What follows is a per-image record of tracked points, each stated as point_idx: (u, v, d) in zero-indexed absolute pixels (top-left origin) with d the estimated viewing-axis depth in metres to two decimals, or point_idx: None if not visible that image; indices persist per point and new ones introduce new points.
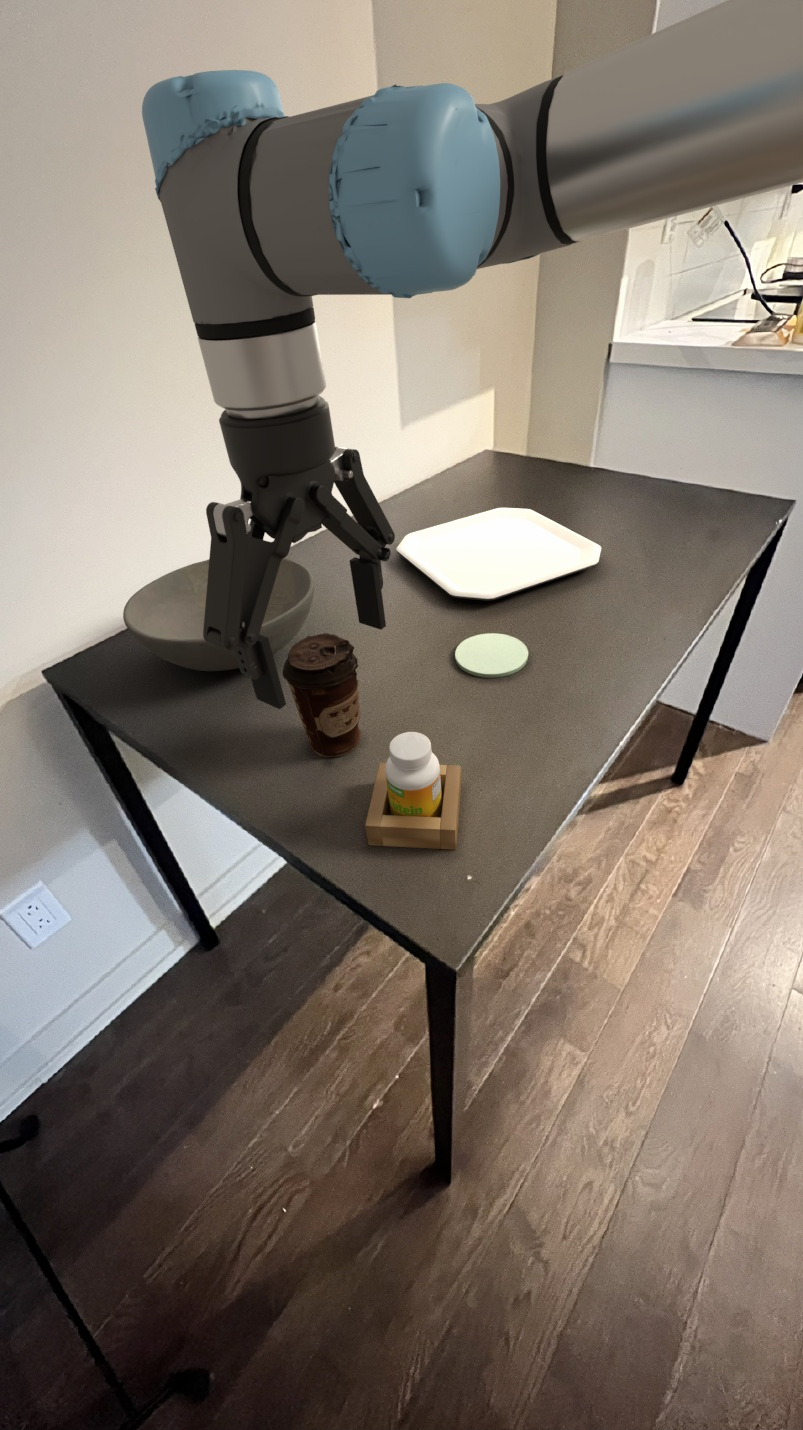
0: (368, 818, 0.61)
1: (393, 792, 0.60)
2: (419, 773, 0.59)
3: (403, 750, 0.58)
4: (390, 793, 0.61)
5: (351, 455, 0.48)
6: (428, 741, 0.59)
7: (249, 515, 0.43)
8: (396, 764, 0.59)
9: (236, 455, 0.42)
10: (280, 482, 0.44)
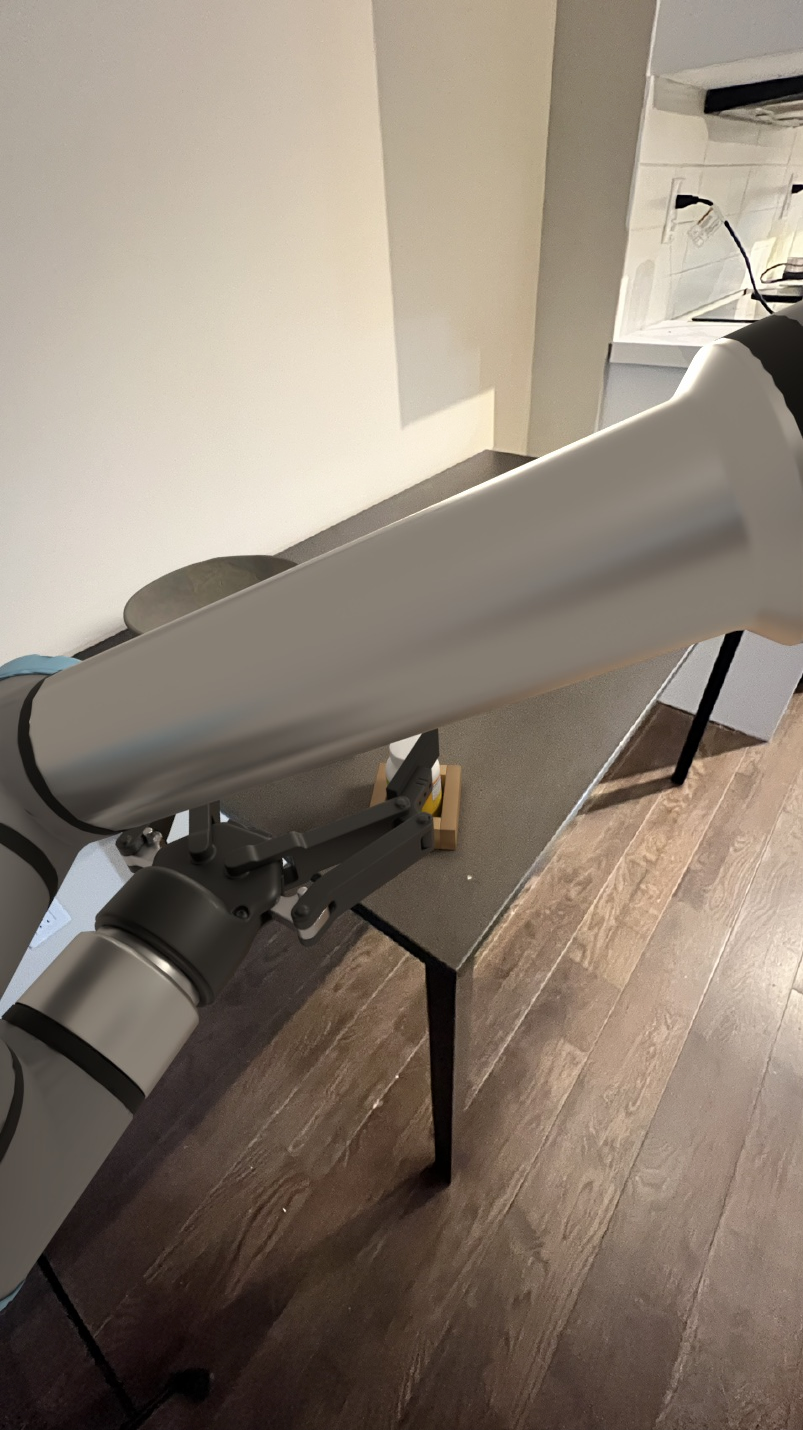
0: None
1: None
2: None
3: (403, 750, 0.58)
4: None
5: (126, 845, 0.37)
6: None
7: (285, 899, 0.34)
8: (396, 764, 0.59)
9: (236, 960, 0.32)
10: (225, 895, 0.33)
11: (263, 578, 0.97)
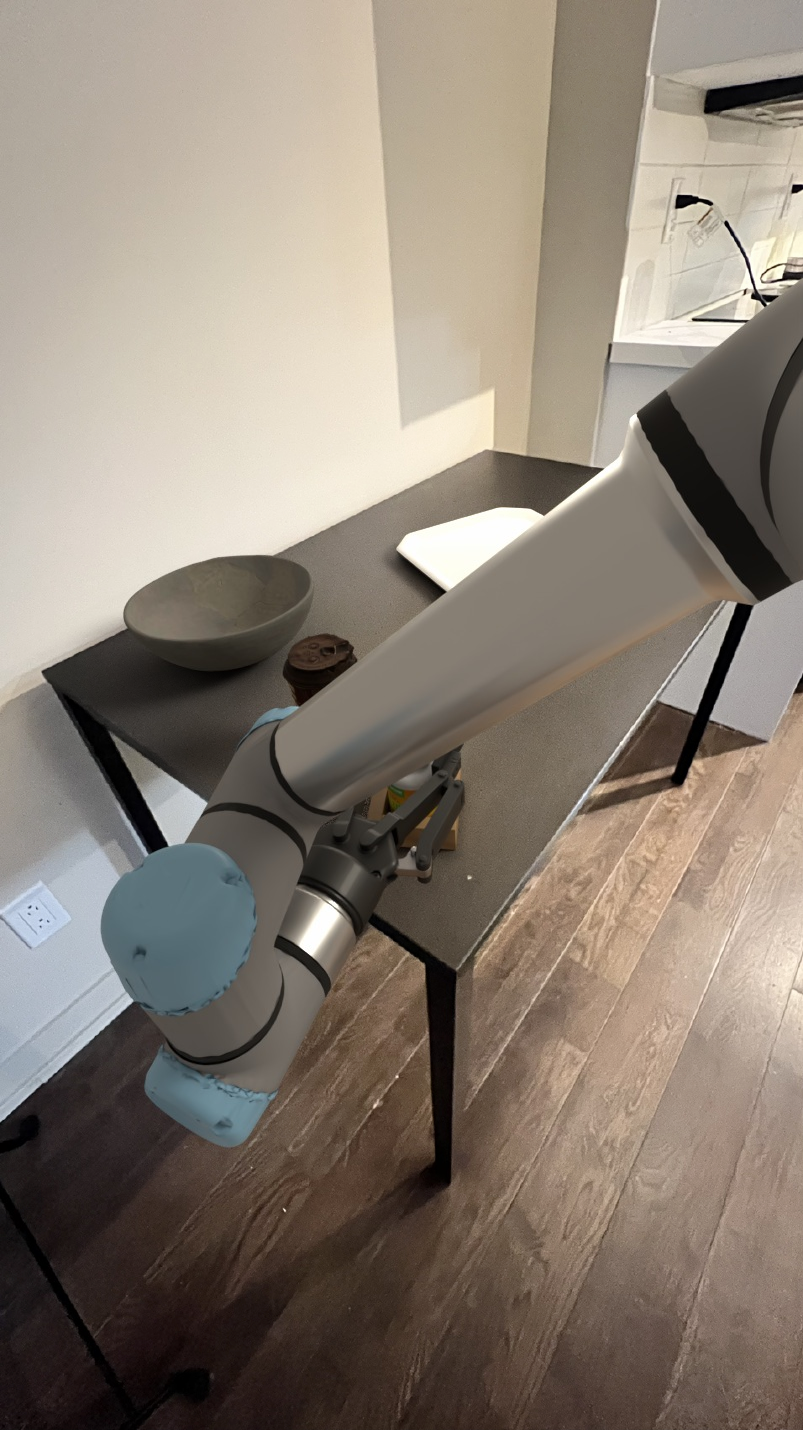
0: (368, 818, 0.61)
1: (393, 792, 0.60)
2: (419, 773, 0.59)
3: None
4: (390, 793, 0.61)
5: None
6: None
7: (403, 859, 0.51)
8: None
9: (374, 906, 0.48)
10: (363, 864, 0.50)
11: (263, 578, 0.97)
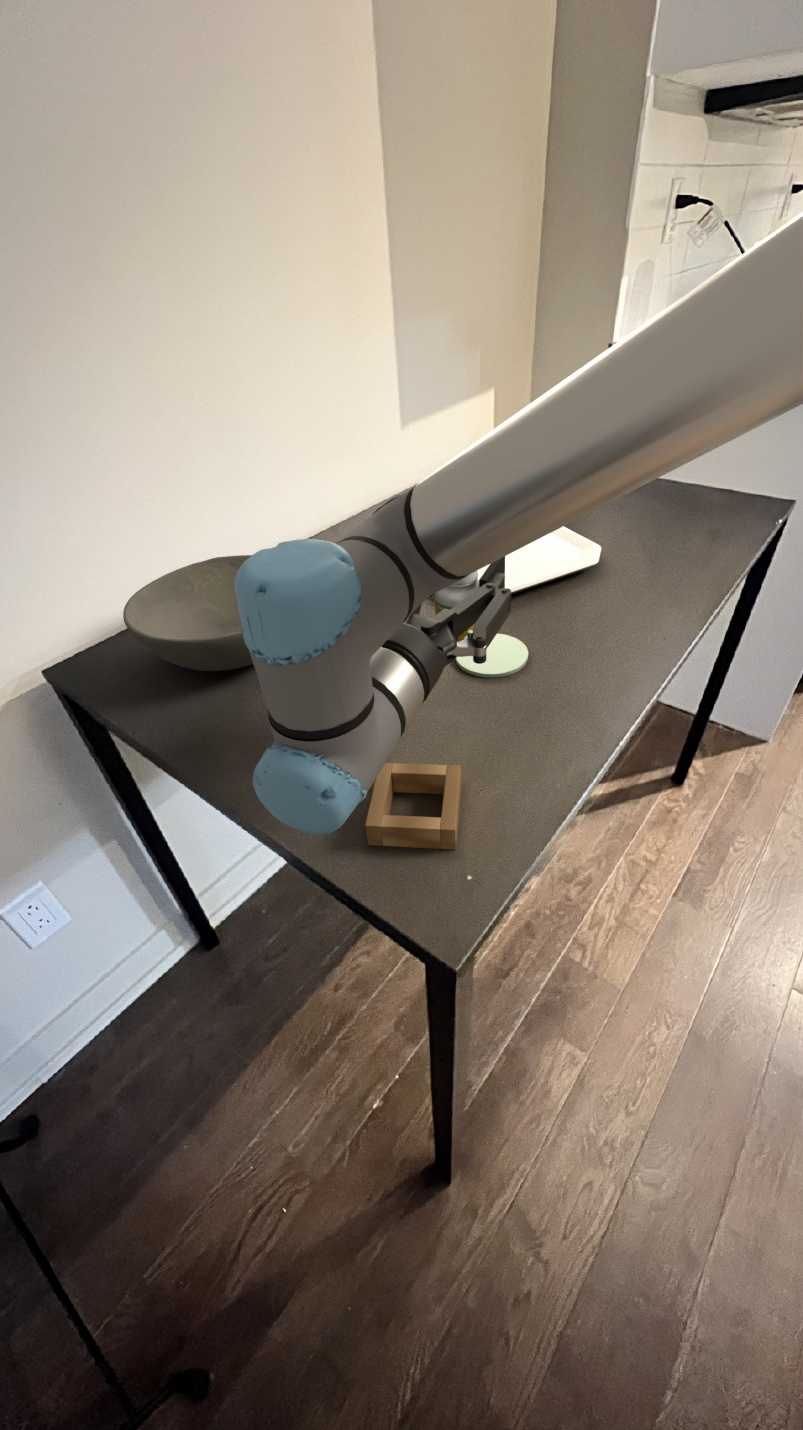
0: (368, 818, 0.61)
1: None
2: (467, 591, 0.64)
3: None
4: None
5: None
6: None
7: (460, 642, 0.56)
8: None
9: (437, 675, 0.54)
10: None
11: None
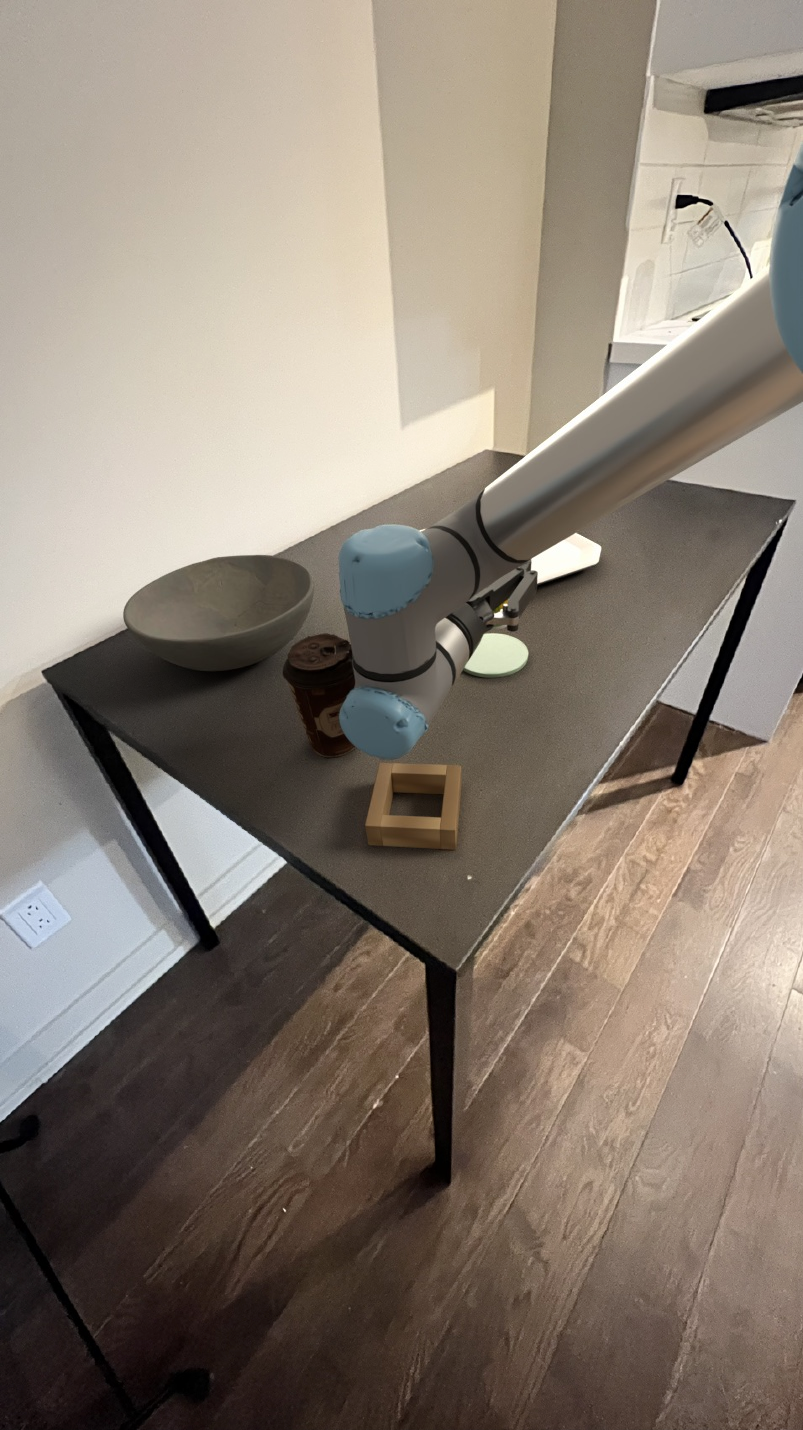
0: (368, 818, 0.61)
1: None
2: None
3: None
4: None
5: None
6: None
7: (497, 613, 0.68)
8: None
9: (479, 640, 0.66)
10: None
11: (263, 578, 0.97)
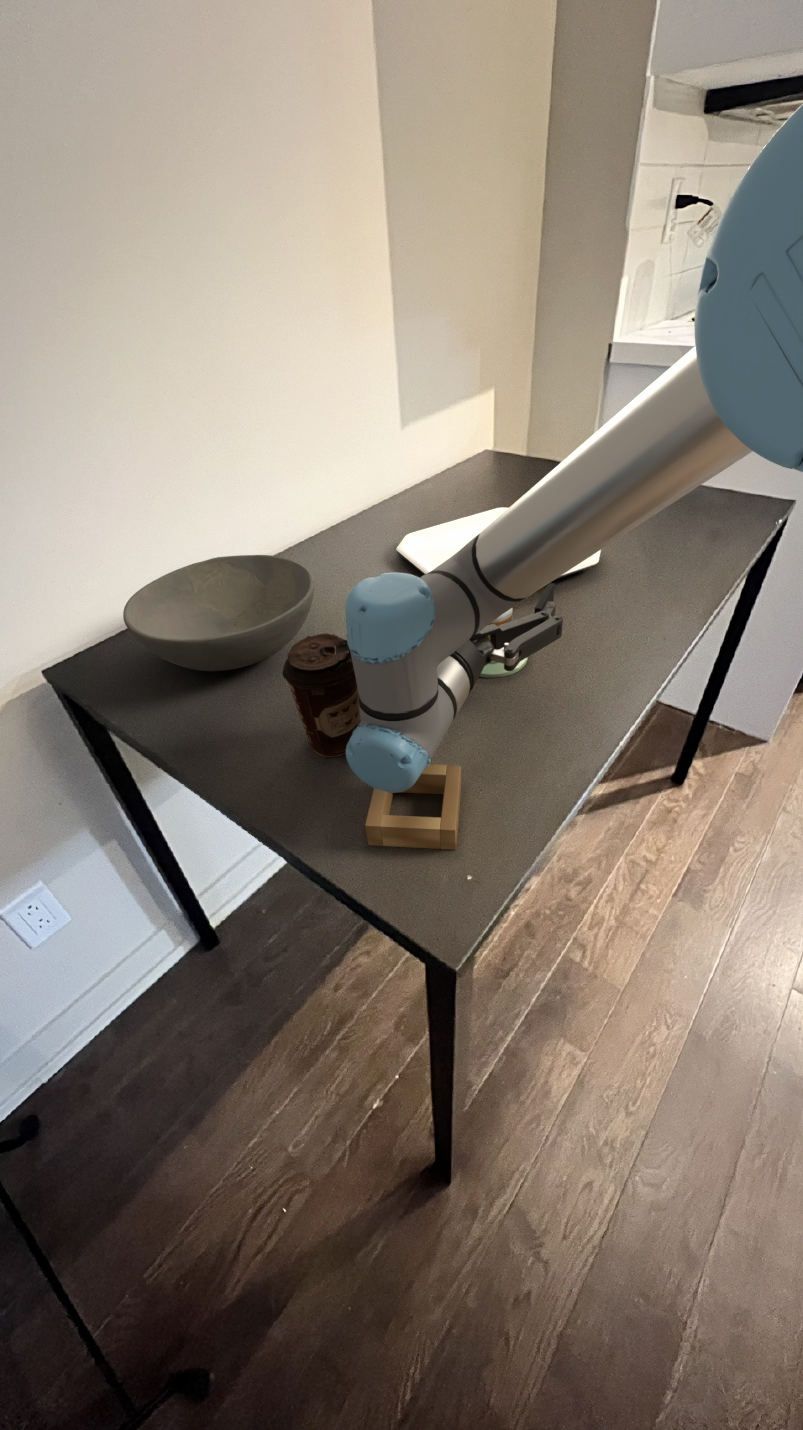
0: (368, 818, 0.61)
1: None
2: None
3: None
4: None
5: None
6: None
7: (497, 650, 0.70)
8: None
9: (479, 673, 0.68)
10: None
11: (263, 578, 0.97)
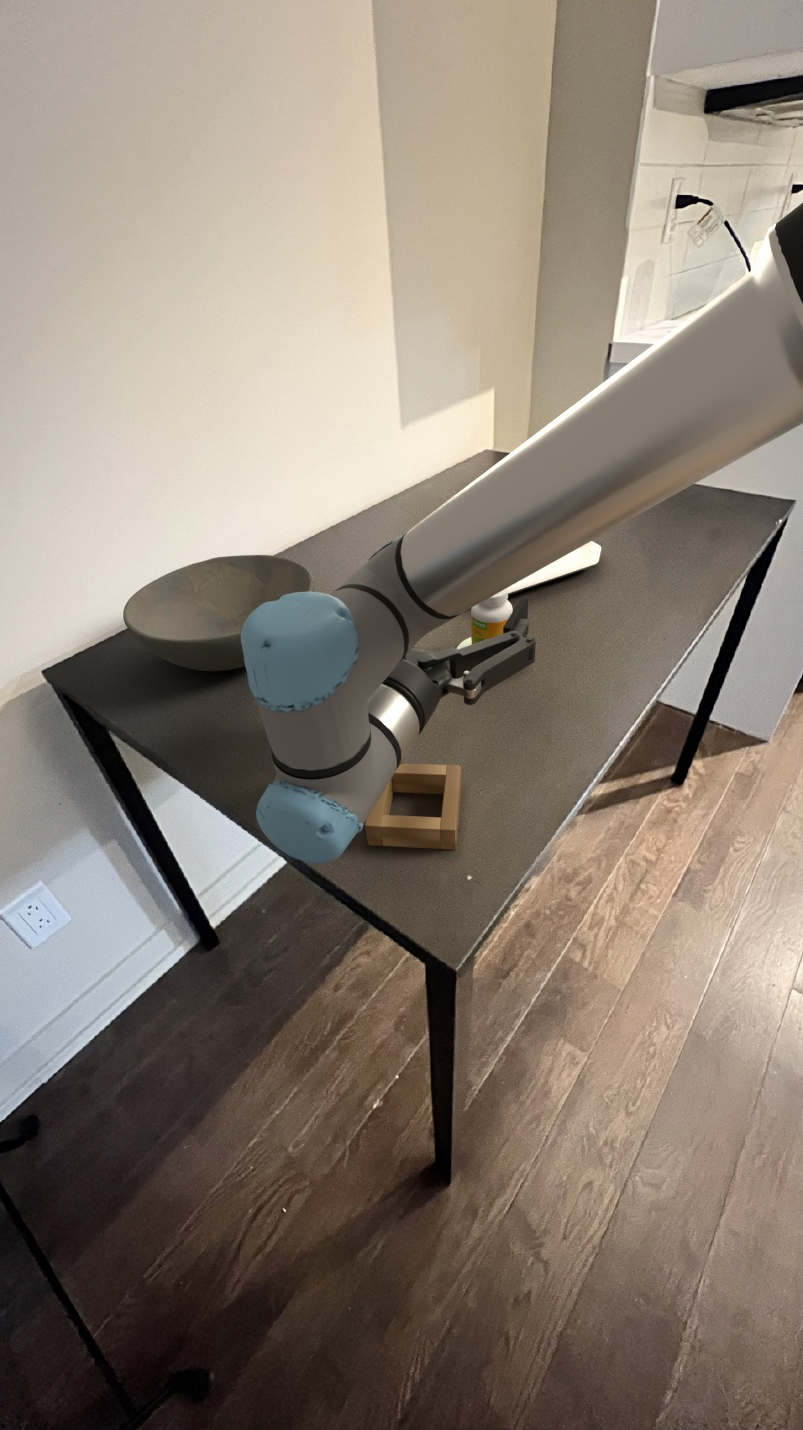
0: (368, 818, 0.61)
1: (478, 627, 0.81)
2: (498, 609, 0.79)
3: None
4: (475, 629, 0.82)
5: None
6: None
7: (455, 679, 0.58)
8: (482, 602, 0.79)
9: (432, 708, 0.57)
10: None
11: (263, 578, 0.97)
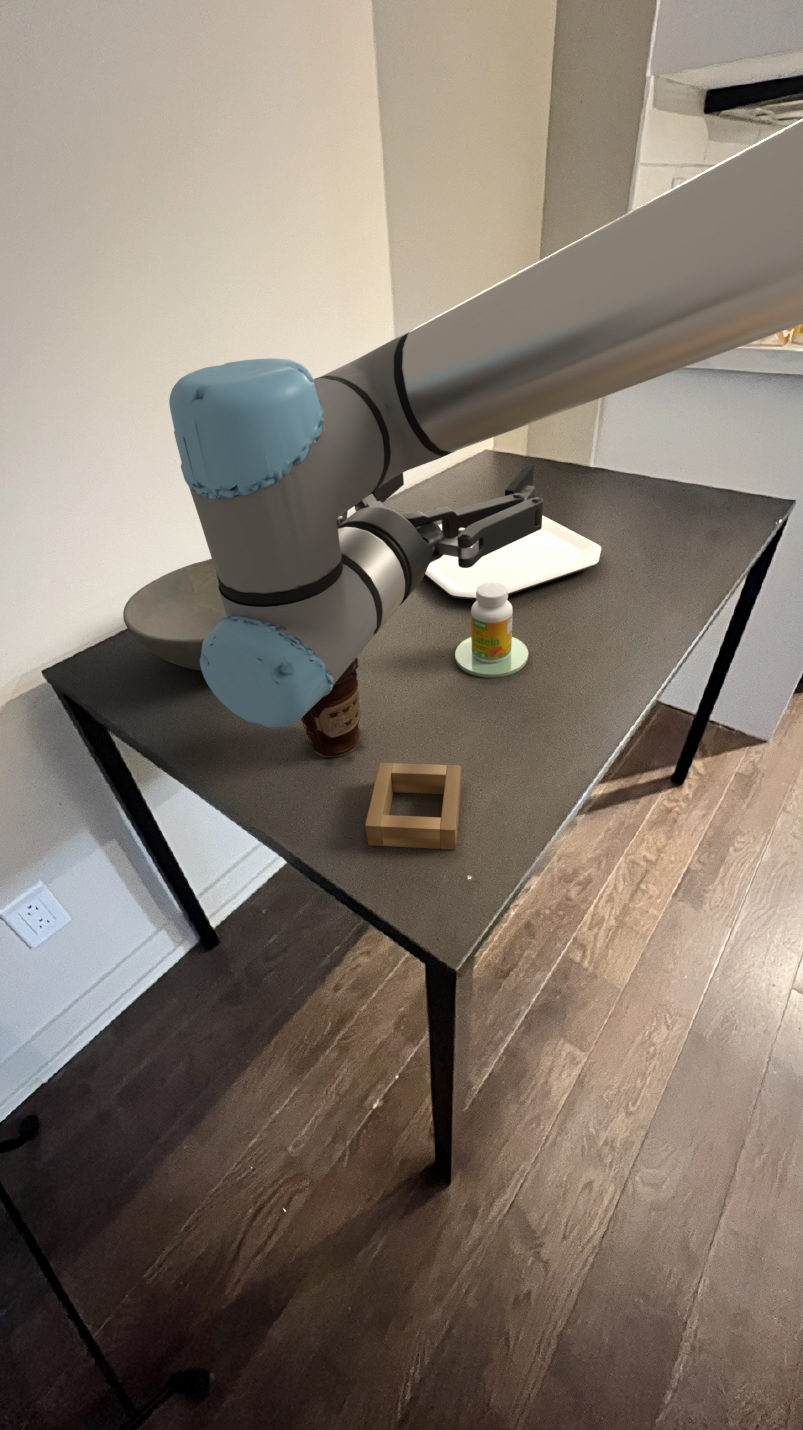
0: (368, 818, 0.61)
1: (478, 627, 0.81)
2: (498, 609, 0.79)
3: (487, 592, 0.79)
4: (475, 629, 0.82)
5: None
6: (505, 586, 0.80)
7: (449, 539, 0.49)
8: (482, 602, 0.79)
9: (421, 569, 0.48)
10: None
11: None
